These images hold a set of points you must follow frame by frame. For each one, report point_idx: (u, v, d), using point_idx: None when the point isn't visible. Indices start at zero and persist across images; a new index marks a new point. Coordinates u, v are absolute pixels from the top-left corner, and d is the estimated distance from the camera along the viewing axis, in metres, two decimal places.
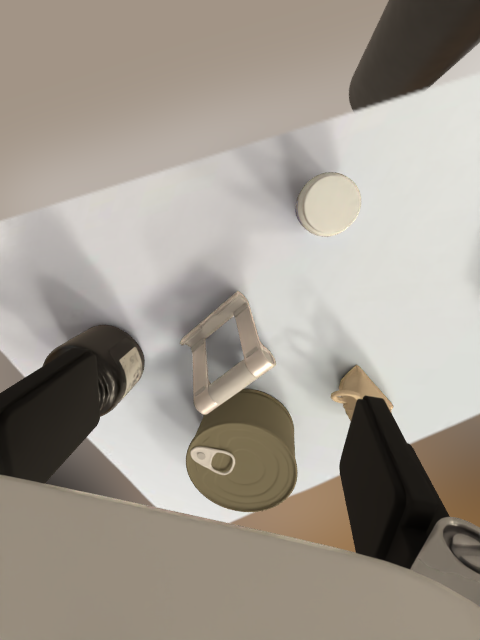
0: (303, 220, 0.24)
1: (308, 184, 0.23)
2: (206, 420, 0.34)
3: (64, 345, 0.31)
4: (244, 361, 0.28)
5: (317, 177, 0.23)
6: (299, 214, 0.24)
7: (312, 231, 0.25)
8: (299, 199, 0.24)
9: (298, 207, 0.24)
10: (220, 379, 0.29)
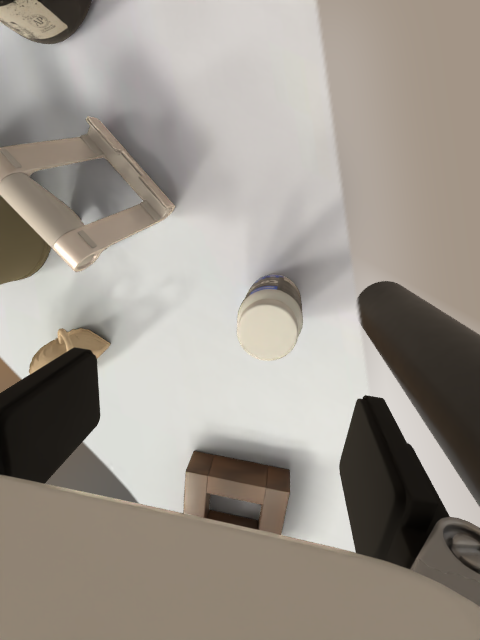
0: (253, 297, 0.21)
1: (291, 301, 0.21)
2: None
3: None
4: (71, 230, 0.20)
5: (298, 310, 0.21)
6: (260, 292, 0.21)
7: (242, 307, 0.22)
8: (276, 292, 0.21)
9: (268, 291, 0.21)
10: (37, 193, 0.20)
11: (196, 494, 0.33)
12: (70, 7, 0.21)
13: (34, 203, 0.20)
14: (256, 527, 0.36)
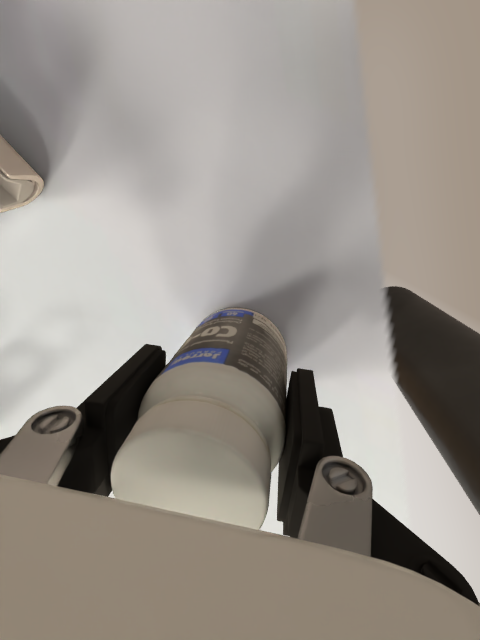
0: (165, 385, 0.09)
1: (257, 396, 0.09)
2: None
3: None
4: None
5: (273, 417, 0.09)
6: (182, 372, 0.09)
7: (143, 402, 0.09)
8: (220, 373, 0.09)
9: (200, 369, 0.09)
10: None
11: None
12: None
13: None
14: None
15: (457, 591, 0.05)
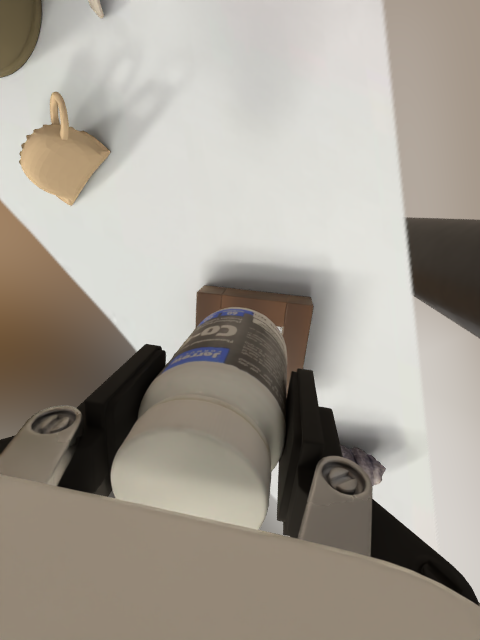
0: (165, 384, 0.09)
1: (257, 395, 0.09)
2: None
3: None
4: None
5: (273, 416, 0.09)
6: (182, 371, 0.09)
7: (143, 401, 0.09)
8: (220, 372, 0.09)
9: (200, 369, 0.09)
10: None
11: None
12: None
13: None
14: None
15: (457, 591, 0.05)
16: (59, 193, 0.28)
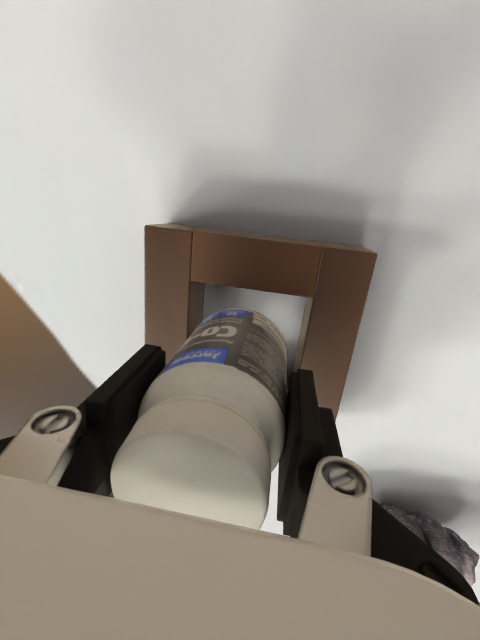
0: (165, 385, 0.09)
1: (257, 396, 0.09)
2: None
3: None
4: None
5: (273, 417, 0.09)
6: (182, 372, 0.09)
7: (143, 402, 0.09)
8: (220, 373, 0.09)
9: (200, 369, 0.09)
10: None
11: (168, 286, 0.15)
12: None
13: None
14: None
15: (457, 591, 0.05)
16: None
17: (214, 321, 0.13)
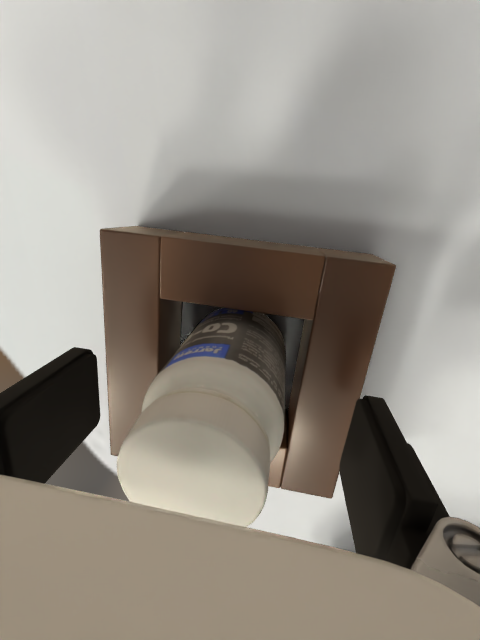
0: (169, 378, 0.09)
1: (256, 389, 0.09)
2: None
3: None
4: None
5: (272, 409, 0.09)
6: (185, 366, 0.09)
7: (147, 395, 0.10)
8: (221, 366, 0.09)
9: (202, 363, 0.09)
10: None
11: (132, 305, 0.12)
12: None
13: None
14: (284, 418, 0.15)
15: None
16: None
17: (215, 318, 0.13)
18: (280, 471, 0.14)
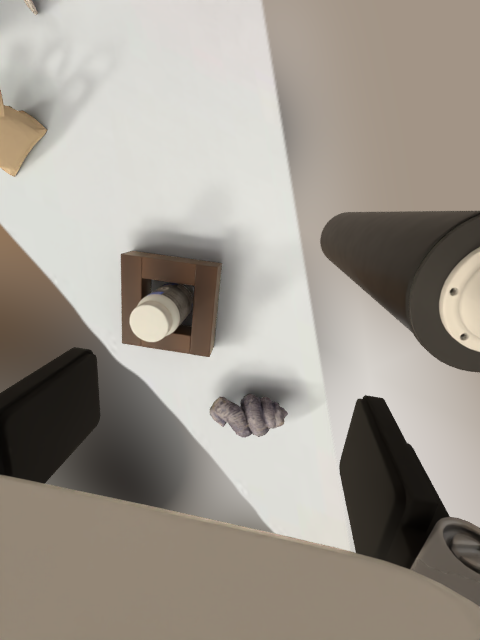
0: (144, 300, 0.31)
1: (169, 302, 0.31)
2: None
3: None
4: None
5: (174, 308, 0.31)
6: (148, 296, 0.31)
7: (137, 306, 0.32)
8: (159, 296, 0.31)
9: (153, 295, 0.31)
10: None
11: (131, 280, 0.34)
12: None
13: None
14: None
15: None
16: (0, 164, 0.33)
17: (162, 286, 0.35)
18: (189, 346, 0.36)
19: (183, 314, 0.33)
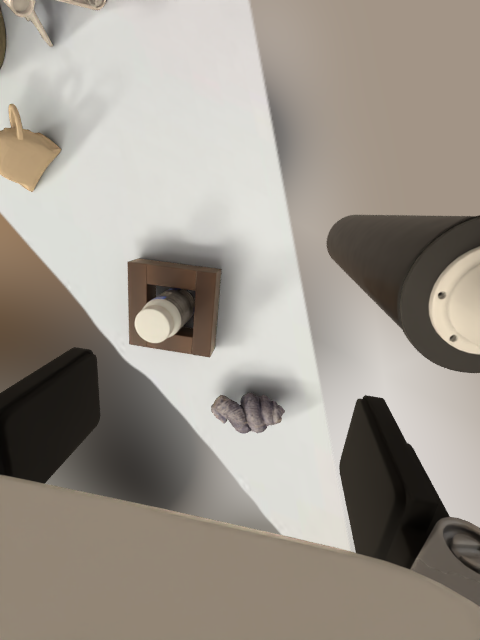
0: (148, 304, 0.34)
1: (171, 306, 0.34)
2: None
3: None
4: None
5: (175, 312, 0.34)
6: (152, 301, 0.34)
7: (142, 310, 0.35)
8: (162, 300, 0.34)
9: (157, 300, 0.34)
10: None
11: (137, 286, 0.37)
12: None
13: None
14: None
15: None
16: (20, 181, 0.36)
17: (166, 291, 0.38)
18: (191, 347, 0.39)
19: (185, 317, 0.36)
